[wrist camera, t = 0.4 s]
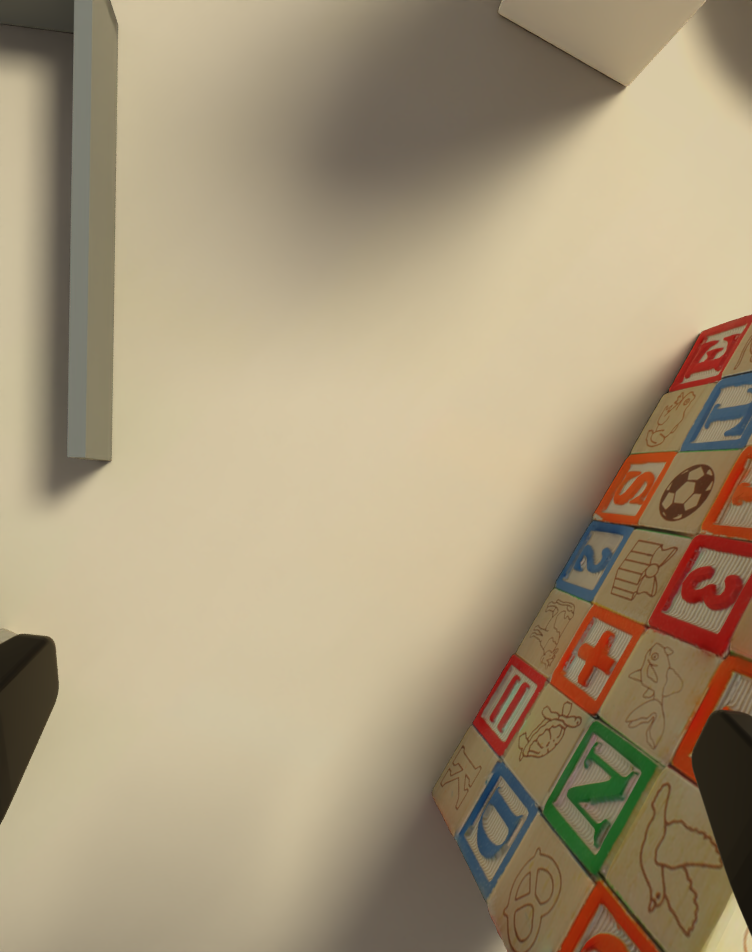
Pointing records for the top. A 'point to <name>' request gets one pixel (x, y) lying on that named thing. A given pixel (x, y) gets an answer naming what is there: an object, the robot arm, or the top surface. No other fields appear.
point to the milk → (605, 29)
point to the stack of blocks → (625, 696)
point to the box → (87, 210)
